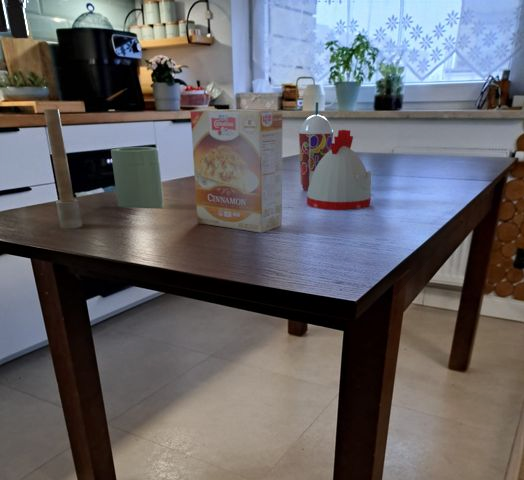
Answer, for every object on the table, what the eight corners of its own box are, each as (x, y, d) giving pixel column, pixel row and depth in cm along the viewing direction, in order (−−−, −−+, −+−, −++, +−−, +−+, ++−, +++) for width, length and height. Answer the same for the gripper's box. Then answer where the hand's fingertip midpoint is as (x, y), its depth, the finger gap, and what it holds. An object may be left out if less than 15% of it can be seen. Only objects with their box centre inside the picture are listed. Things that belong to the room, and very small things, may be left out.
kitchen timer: (380, 202, 115) (387, 129, 108) (352, 212, 105) (357, 133, 99) (326, 196, 123) (329, 127, 116) (294, 205, 113) (296, 131, 106)
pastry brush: (58, 238, 88) (34, 109, 80) (69, 233, 92) (47, 109, 83) (76, 239, 88) (54, 109, 79) (88, 234, 91) (68, 109, 82)
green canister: (110, 212, 108) (102, 151, 103) (131, 203, 116) (124, 146, 111) (152, 213, 106) (146, 151, 101) (170, 205, 114) (165, 147, 109)
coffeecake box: (196, 223, 98) (188, 109, 89) (219, 216, 103) (214, 108, 94) (261, 233, 90) (260, 110, 81) (283, 225, 95) (284, 109, 86)
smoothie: (327, 192, 127) (331, 102, 118) (294, 191, 129) (295, 102, 120) (333, 187, 134) (337, 102, 125) (301, 186, 136) (303, 102, 127)
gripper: (-29, -103, 68) (0, 40, 75) (-81, -148, 56) (-41, 29, 63) (30, -101, 69) (53, 40, 76) (-9, -145, 56) (23, 29, 63)
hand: (10, 35), depth 69 cm, fingers open, 8 cm apart
